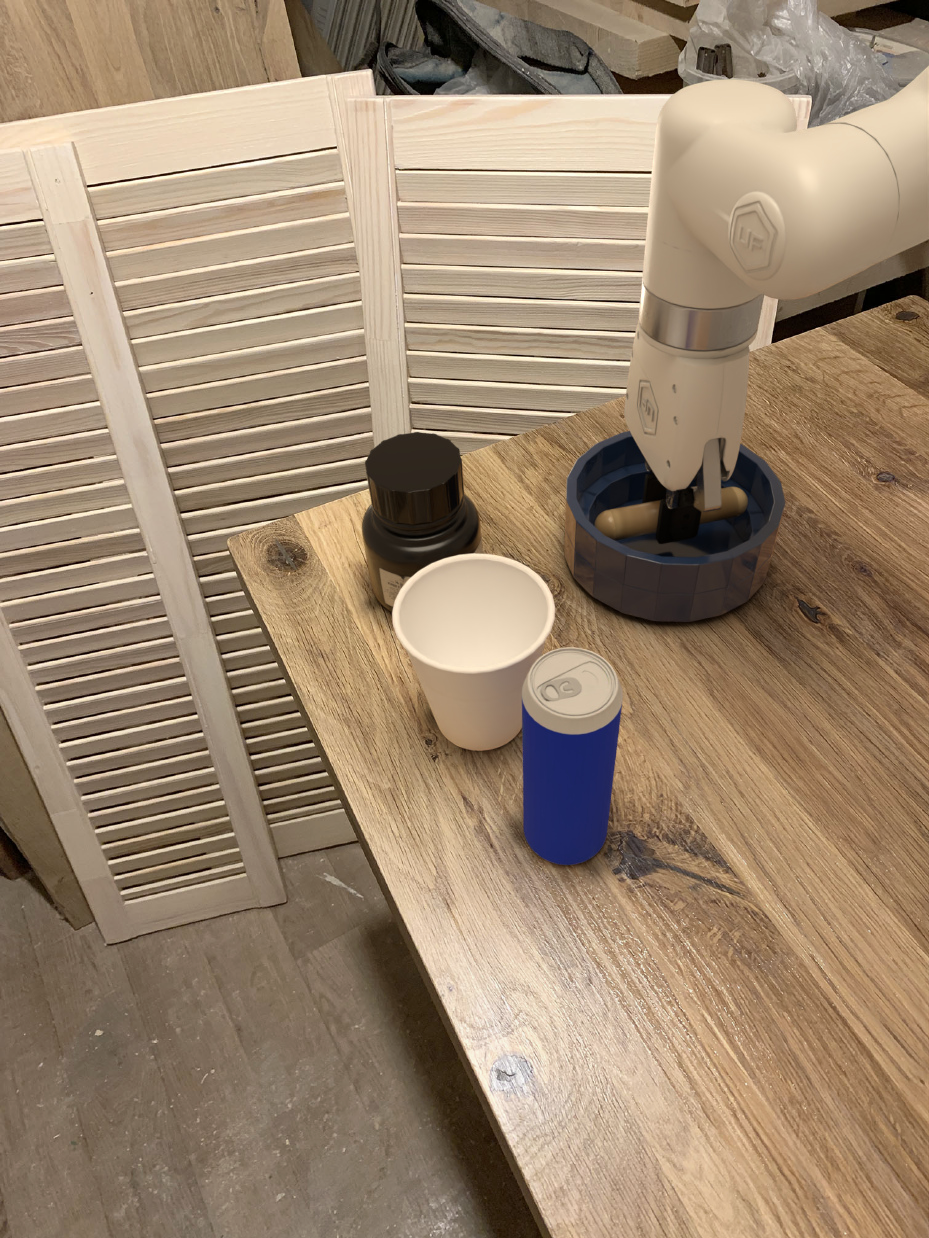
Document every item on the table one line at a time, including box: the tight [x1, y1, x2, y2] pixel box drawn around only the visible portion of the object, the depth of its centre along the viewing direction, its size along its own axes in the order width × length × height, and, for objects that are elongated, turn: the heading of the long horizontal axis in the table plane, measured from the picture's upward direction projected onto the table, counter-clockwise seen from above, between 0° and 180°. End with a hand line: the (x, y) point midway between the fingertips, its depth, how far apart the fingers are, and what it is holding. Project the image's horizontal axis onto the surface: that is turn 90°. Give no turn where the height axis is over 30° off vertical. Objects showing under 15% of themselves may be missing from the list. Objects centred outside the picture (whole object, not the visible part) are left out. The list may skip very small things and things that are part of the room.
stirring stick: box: [595, 487, 748, 541], centre depth 71 cm, size 12×2×2 cm, turn 102°
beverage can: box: [521, 646, 624, 866], centre depth 52 cm, size 5×5×15 cm
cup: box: [391, 553, 556, 752], centre depth 60 cm, size 10×10×11 cm
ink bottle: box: [361, 431, 484, 613], centre depth 69 cm, size 10×9×12 cm
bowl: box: [563, 430, 786, 623], centre depth 72 cm, size 16×16×6 cm
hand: (668, 524), depth 72 cm, fingers closed on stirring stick, 2 cm apart
